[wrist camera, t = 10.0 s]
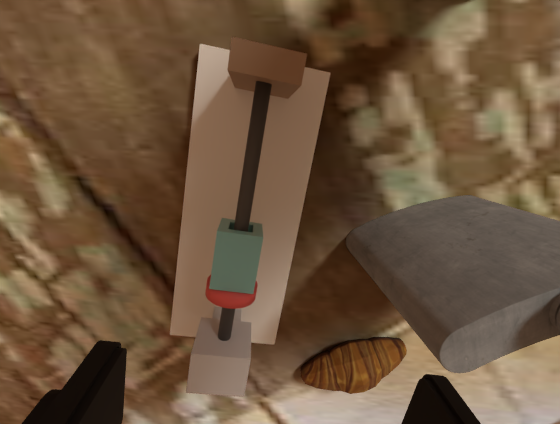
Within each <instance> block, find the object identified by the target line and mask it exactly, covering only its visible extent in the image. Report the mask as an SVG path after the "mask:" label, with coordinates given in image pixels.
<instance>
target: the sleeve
mask: <svg viewBox="0 0 560 424" xmlns="http://www.w3.org/2000/svg"><path fill="white" fill-rule="evenodd" d="M234 224H235V220H233V219H227V218H222V219H221V221H220V224H219V227H218V229H217V234H216V242H215V249H214V257H213V264H212V271H211V279H210V286H209V289H213V290H222V291H230V292H239V293H248V294H253V293H254V288H255V282H256V276H257V271H258V265H259V259H260V254H261V248H262V243H263V228H262V224H260V223H254V222H249V228H248V232H245V231H238V230H234Z"/></svg>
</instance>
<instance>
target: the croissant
mask: <svg viewBox="0 0 560 424" xmlns="http://www.w3.org/2000/svg"><path fill="white" fill-rule="evenodd" d="M406 351H407V350H406V347H405V344H404V343H403V341H402V340H401V339H399V338H391V337H373V338H370V339H358V340H352V341H347V342H345V343H342V344H340V345H338V346H335V347H334V348H332V349H331V350H329V351H325V352H322V353H320V354H319V355H317V356H316V357H314V358H312V359H311V360H309V361H308V362H307V363H306V364H304V365H303V366H302V367H301V377H302V379H303V381H304V382H305V384H307V385H310V386H313V387H316V388H319V389H326V390H332V391H343V392H347V393H350V394H352V393H360V392H365V391H367V390H369V389H371V388H373V387H375V386H376V385H377V384H378V383H379V381H380V380H381V379H382V378H383V377H385V376H387V375H388V374H389V373H390V372H391V371H392V370H393V369H394V368H396V367H397V366H398V365H399V364H400V362H401V361H402V359H403V358H404V356H405V355H406Z"/></svg>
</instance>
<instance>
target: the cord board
mask: <svg viewBox="0 0 560 424" xmlns="http://www.w3.org/2000/svg"><path fill="white" fill-rule="evenodd" d="M306 58H307V54H306V53H302V52H297V51H293V50H289V49H284V48H280V47H275V46H271V45H267V44H262V43H258V42H253V41H249V40H245V39H240V38H236V37H232V38H231V46H230V50H226V49H222V48H217V47H213V46H208V45H204V44H200V48H199V57H198V67H197V76H196V86H195V96H194V105H193V115H192V125H191V134H190V144H189V154H188V163H187V173H186V182H185V192H184V202H183V211H182V221H181V231H180V240H179V250H178V260H177V269H176V279H175V288H174V298H173V308H172V317H171V327H170V335H177V336H188V337H196V338H195V341H194V345H193V348H192V352H191V357H190V365H189V373H188V381H187V389H186V393H198V394H212V395H227V396H241V397H244V394H245V388H246V383H247V377H248V372H249V367H250V361H251V343H262V344H272V345H274V344H275V340H276V335H277V330H278V325H279V320H280V315H281V311H282V306H283V301H284V296H285V291H286V286H287V282H288V277H289V272H290V267H291V262H292V257H293V253H294V248H295V243H296V238H297V233H298V228H299V223H300V219H301V214H302V209H303V204H304V199H305V194H306V190H307V185H308V180H309V175H310V170H311V165H312V161H313V156H314V151H315V146H316V141H317V136H318V132H319V127H320V122H321V117H322V112H323V107H324V103H325V98H326V93H327V88H328V83H329V78H330V72H325V71H321V70H316V69H312V68H307V67H305V63H306ZM222 218H227V219H233V220H235V224H234V230H238V231H245V232H248V228H249V222H254V223H260V224H262V228H263V243H262V248H261V254H260V259H259V265H258V271H257V276H256V282H255V288H254V293H253V294H248V293H239V292H230V291H222V290H213V289H209V286H210V279H211V271H212V264H213V257H214V249H215V242H216V234H217V229H218V227H219V224H220V221H221V219H222Z"/></svg>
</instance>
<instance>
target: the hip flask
mask: <svg viewBox="0 0 560 424" xmlns="http://www.w3.org/2000/svg"><path fill="white" fill-rule="evenodd" d="M346 246H347V248H348V250H349V251H350V252H351V253H352V255H353V256H354V257H355V258H356V260H357V261H358V262H359V263H360V265H361V266H362V267H363V268H364V269H365V271H366V272H367V273H368V274H369V276H370V277H371V278H372V279H373V281H374V282H375V283H376V284H377V285H378V287H379V288H380V289H381V290H382V292H383V293H384V294H385V295H386V297H387V298H388V299H389V300H390V302H391V303H392V304H393V305H394V306H395V308H396V309H397V310H398V311H399V313H400V314H401V315H402V316H403V318H404V319H405V320H406V321H407V322H408V324H409V325H410V326H411V327H412V329H413V330H414V331H415V332H416V334H417V335H418V336H419V337H420V338H421V340H422V341H423V342H424V343H425V345H426V346H427V347H428V348H429V350H430V351H431V352H432V353H433V355H434V356H435V357H436V358H437V359H438V361H439V362H440V363H441V364H442V366H443V367H444V368H445V369H447V370H448V371H450V372H454V373H466V372H470V371H472V370H475V369H477V368H479V367H481V366H483V365H485V364H487V363H489V362H491V361H493V360H496V359H498V358H500V357H502V356H504V355H507V354H509V353H512V352H514V351H517V350H519V349H521V348H524V347H527V346H529V345H532V344H535V343H537V342H540V341H543V340H546V339H549V338H552V337H554V336H557V335H560V221H557V220H554V219H550V218H547V217H544V216H540V215H537V214H533V213H530V212H526V211H523V210H519V209H516V208H512V207H509V206H505V205H502V204H499V203H495V202H492V201H488V200H485V199H481V198H478V197H474V196H471V195H467V196H457V197H449V198H443V199H438V200H433V201H429V202H425V203H421V204H417V205H414V206H410V207H407V208H404V209H400V210H398V211H395V212H392V213H389V214H387V215H384V216H381V217H379V218H377V219H374V220H372V221H370V222H368V223H366V224H364V225H362V226H360V227H358V228H356V229H354V230H352V231H351V232H350V233H349V234H348V236H347V238H346Z"/></svg>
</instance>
